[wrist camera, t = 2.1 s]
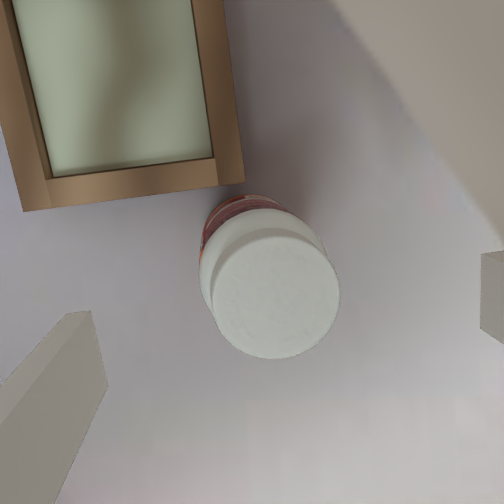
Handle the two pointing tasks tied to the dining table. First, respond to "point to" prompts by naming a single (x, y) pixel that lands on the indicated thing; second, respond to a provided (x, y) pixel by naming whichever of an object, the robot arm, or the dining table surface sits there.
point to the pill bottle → (266, 278)
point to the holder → (116, 99)
